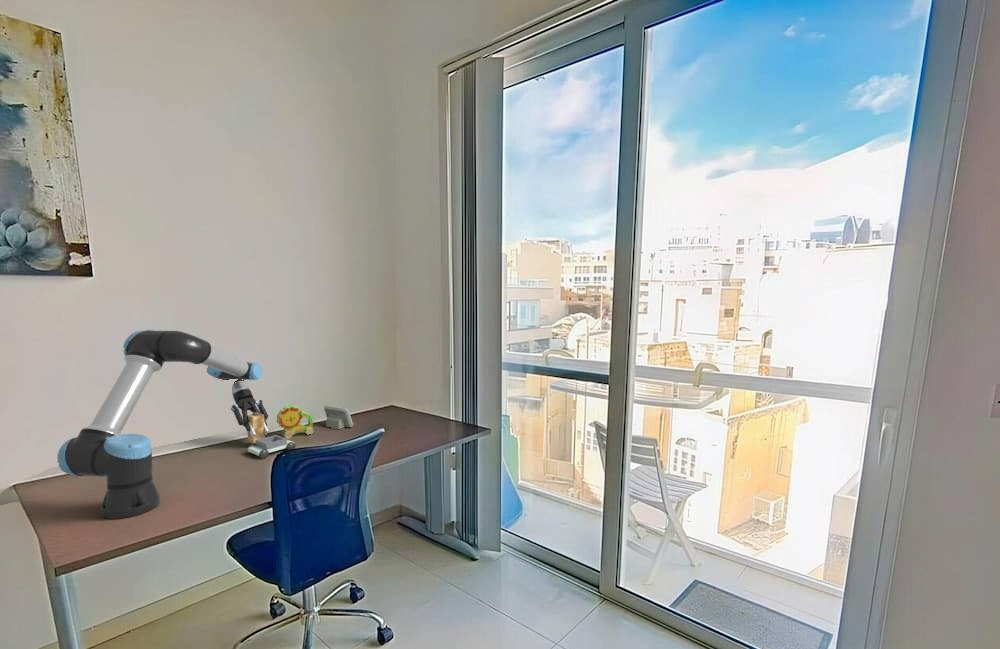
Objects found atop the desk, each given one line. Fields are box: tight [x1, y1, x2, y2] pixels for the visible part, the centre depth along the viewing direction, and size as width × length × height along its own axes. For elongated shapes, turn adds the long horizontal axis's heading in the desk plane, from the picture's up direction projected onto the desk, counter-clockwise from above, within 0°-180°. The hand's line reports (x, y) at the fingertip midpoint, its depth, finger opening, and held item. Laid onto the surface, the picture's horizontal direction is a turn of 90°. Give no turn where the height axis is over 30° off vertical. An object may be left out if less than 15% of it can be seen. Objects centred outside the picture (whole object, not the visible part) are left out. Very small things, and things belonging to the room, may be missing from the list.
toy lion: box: [276, 405, 314, 440], centre depth 227 cm, size 16×5×15 cm, turn 128°
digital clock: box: [324, 405, 354, 430], centre depth 243 cm, size 16×9×11 cm, turn 51°
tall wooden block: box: [247, 412, 266, 445], centre depth 213 cm, size 5×5×13 cm
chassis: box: [246, 434, 296, 459], centre depth 206 cm, size 16×11×6 cm
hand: (260, 434), depth 211 cm, fingers closed on tall wooden block, 5 cm apart
